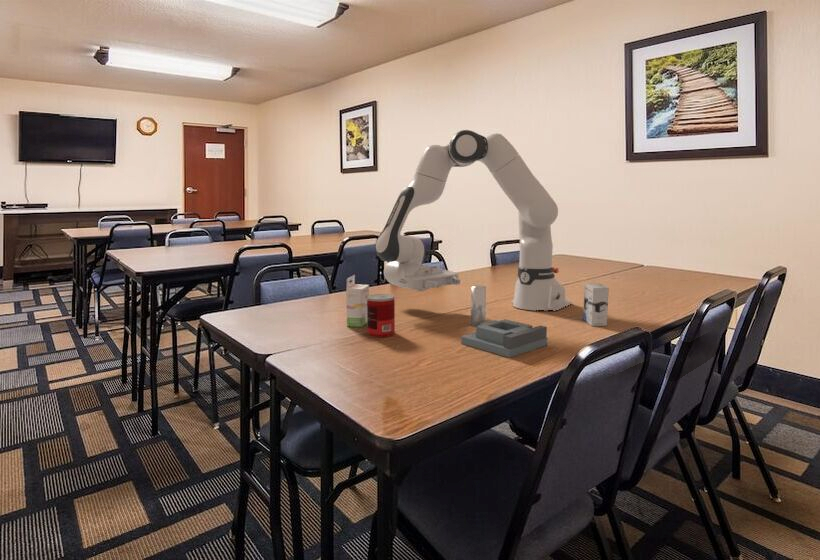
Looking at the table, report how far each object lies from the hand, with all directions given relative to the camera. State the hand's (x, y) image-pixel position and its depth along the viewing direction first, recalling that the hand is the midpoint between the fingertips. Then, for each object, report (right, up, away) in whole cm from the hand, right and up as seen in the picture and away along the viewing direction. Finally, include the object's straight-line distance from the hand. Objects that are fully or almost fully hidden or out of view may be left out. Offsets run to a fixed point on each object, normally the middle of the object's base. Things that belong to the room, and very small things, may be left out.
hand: (448, 283), depth 163 cm
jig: (+13, -16, -27) cm, 34 cm away
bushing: (+8, -13, -7) cm, 17 cm away
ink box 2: (+45, -12, -5) cm, 47 cm away
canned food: (-21, -14, -16) cm, 30 cm away
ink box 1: (-28, -13, -5) cm, 31 cm away
